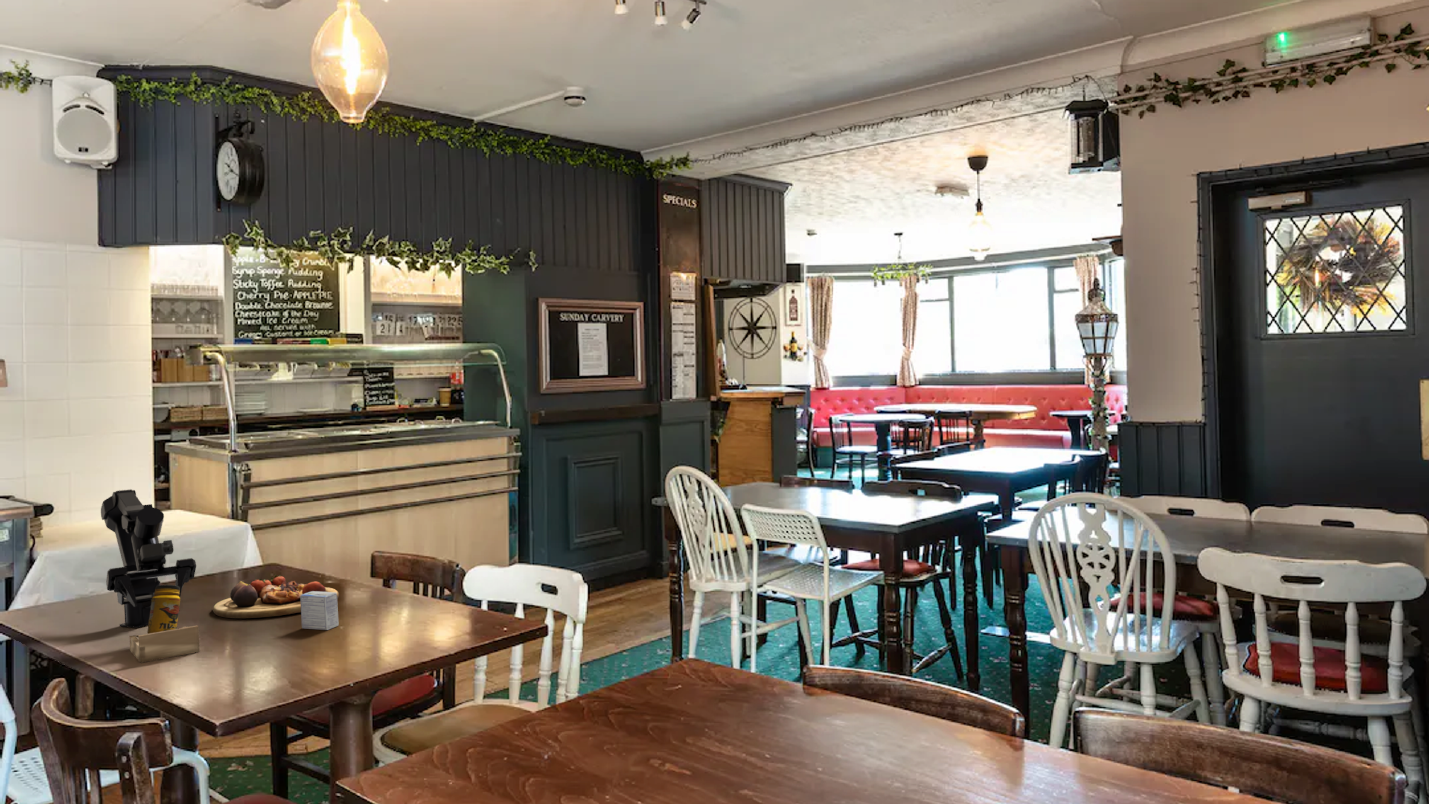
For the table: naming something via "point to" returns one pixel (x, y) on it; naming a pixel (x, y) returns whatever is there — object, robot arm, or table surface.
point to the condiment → (164, 609)
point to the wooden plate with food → (266, 598)
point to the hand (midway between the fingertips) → (157, 602)
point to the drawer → (165, 644)
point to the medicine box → (319, 610)
